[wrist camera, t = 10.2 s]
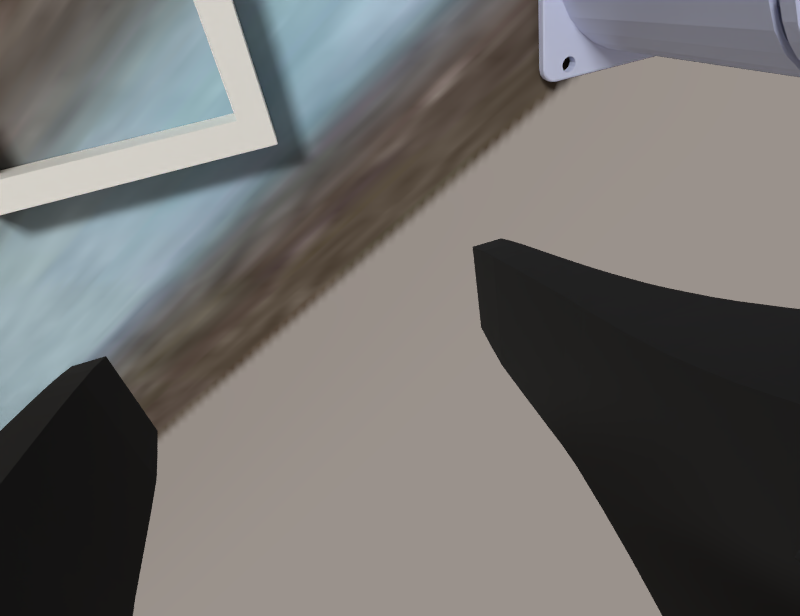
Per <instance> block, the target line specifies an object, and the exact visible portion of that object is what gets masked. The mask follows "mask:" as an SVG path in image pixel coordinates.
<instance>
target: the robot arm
mask: <svg viewBox="0 0 800 616" xmlns="http://www.w3.org/2000/svg"><path fill="white" fill-rule="evenodd" d="M538 3H539V70H540V75H541V76H542V78H543V79H545V80H547V81H550V82H557V81H561V80H565V79H568V78H572V77H576V76H580V75H584V74H588V73H592V72H596V71H599V70H603V69H607V68H611V67H615V66H619V65H623V64H626V63H630V62H634V61H638V60H642V59H646V58H650V57H654V56H661V57H667V58H674V59H681V60H688V61H694V62H701V63H708V64H715V65H721V66H729V67H735V68H741V69H748V70H755V71H762V72H768V73H775V74H782V75H789V76H796V77H800V0H538ZM567 57H569V60H570V63H569V66H568V67H567V69H565V70H563V67H562V65H563V61H564V60H565V58H567ZM473 254H474V263H475V272H476V282H477V292H478V301H479V310H480V320H481V328H482V330H483V331H484V333H485V335H486V337H487V339H488V341H489V343H490V345H491V346H492V348H493V350H494V352H495V353H496V355H497V357H498V359H499V360H500V362H501V364H502V365H503V367H504V368H505V369H506V371H507V372H508V374H509V375H510V376H511V378H512V379H513V380H514V382H515V383H516V384H517V386H518V387H519V389H520V390H521V391H522V393H523V394H524V395H525V397H526V398H527V399H528V400H529V402H530V403H531V404H532V406H533V407H534V408H535V410H536V411H537V412H538V414H539V415H540V416H541V418H542V419H543V420H544V422H545V423H546V424H547V426H548V427H549V428H550V429H551V431H552V432H553V434H554V435H555V436H556V437H557V439H558V440H559V441H560V443H561V444H562V445H563V447H564V448H565V450H566V451H567V453H568V454H569V456H570V457H571V458H572V460H573V461H574V463H575V464H576V466H577V467H578V469H579V471H580V472H581V474H582V475H583V477H584V479H585V481H586V482H587V484H588V486H589V487H590V489H591V491H592V492H593V494H594V496H595V497H596V499H597V500H598V502H599V504H600V505H601V507H602V509H603V510H604V512H605V514H606V516H607V517H608V519H609V521H610V522H611V524H612V526H613V528H614V529H615V531H616V533H617V535H618V536H619V538H620V540H621V541H622V543H623V545H624V547H625V549H626V550H627V552H628V554H629V555H630V557H631V559H632V561H633V563H634V564H635V566H636V568H637V570H638V572H639V574H640V575H641V577H642V579H643V581H644V583H645V585H646V586H647V588H648V590H649V592H650V594H651V595H652V597H653V599H654V601H655V603H656V605H657V606H658V608H659V610H660V612H661V614H662V616H800V309H794V308H785V307H777V306H770V305H763V304H755V303H747V302H740V301H733V300H727V299H721V298H715V297H709V296H704V295H699V294H694V293H689V292H684V291H679V290H674V289H669V288H665V287H660V286H656V285H652V284H648V283H644V282H640V281H637V280H633V279H629V278H626V277H622V276H618V275H615V274H611V273H608V272H604V271H601V270H598V269H594V268H591V267H588V266H585V265H582V264H579V263H576V262H573V261H570V260H567V259H564V258H561V257H558V256H555V255H552V254H549V253H546V252H543V251H540V250H537V249H535V248H531V247H528V246H526V245H523V244H519V243H516V242H513V241H509V240H505V239H498V240H494V241H491V242H488V243H484V244H481V245H477V246H474V247H473ZM156 476H157V430H156V428H155V427H154V425H153V424H152V422H151V421H150V419H149V418H148V416H147V415H146V414H145V412H144V411H143V409H142V408H141V406H140V405H139V403H138V402H137V401H136V399H135V398H134V396H133V395H132V393H131V392H130V390H129V389H128V388H127V386H126V385H125V383H124V382H123V380H122V379H121V377H120V376H119V375H118V373H117V372H116V370H115V369H114V367H113V366H112V364H111V363H110V362H109V360H108V359H107V357H106V356H105V357H102V358H99V359H95V360H92V361H88V362H85V363H82V364H78V365H75V366H72V367H70V368H69V369H68V370H67V371H65V372H64V373H63V374H61V375H60V376H59V377H58V378H57V379H55V380H54V381H53V382H52V383H51V384H50V385H49V386H47V387H46V388H45V389H44V390H43V391H42V392H41V393H40V394H39V395H38V396H37V397H35V398H34V399H33V400H32V401H31V402H30V403H29V404H28V405H27V406H26V407H25V408H24V409H23V410H22V411H21V412H20V413H19V414H18V415H17V416H16V417H14V418H13V419H12V420H11V421H10V422H9V423H8V424H7V425H6V426H5V427H4V428H3V429H2V430H1V431H0V616H133V609H134V602H135V595H136V590H137V585H138V580H139V574H140V569H141V563H142V558H143V552H144V547H145V542H146V536H147V531H148V525H149V520H150V514H151V509H152V503H153V497H154V491H155V485H156Z"/></svg>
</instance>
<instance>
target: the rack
mask: <svg viewBox="0 0 800 616" xmlns="http://www.w3.org/2000/svg"><path fill="white" fill-rule="evenodd" d="M194 3H195V6H196V9H197V11H198V14H199V17H200V20H201V23H202V25H203V28H204V31H205V34H206V36H207V39H208V42H209V45H210V48H211V50H212V53H213V56H214V59H215V62H216V64H217V67H218V70H219V73H220V75H221V78H222V81H223V84H224V87H225V89H226V92H227V95H228V98H229V101H230V103H231V106H232V109H233V112H234V113H232V114H228V115H224V116H220V117H216V118H212V119H208V120H204V121H200V122H196V123H192V124H188V125H183V126H179V127H175V128H171V129H167V130H163V131H159V132H155V133H151V134H147V135H143V136H139V137H135V138H131V139H126V140H122V141H118V142H114V143H110V144H106V145H102V146H98V147H94V148H90V149H86V150H82V151H78V152H74V153H69V154H65V155H61V156H57V157H53V158H49V159H45V160H41V161H37V162H33V163H29V164H25V165H21V166H17V167H13V168H8V169H4V170H0V215H3V214H7V213H11V212H15V211H19V210H22V209H26V208H30V207H34V206H38V205H42V204H46V203H50V202H54V201H58V200H62V199H66V198H69V197H73V196H77V195H81V194H85V193H89V192H93V191H97V190H101V189H105V188H109V187H113V186H116V185H120V184H124V183H128V182H132V181H136V180H140V179H144V178H148V177H152V176H156V175H160V174H163V173H167V172H171V171H175V170H179V169H183V168H187V167H191V166H195V165H199V164H203V163H207V162H210V161H214V160H218V159H222V158H226V157H230V156H234V155H238V154H242V153H246V152H250V151H254V150H257V149H261V148H265V147H269V146H273V145H277V144H278V143H277V138H276V133H275V130H274V127H273V124H272V121H271V118H270V114H269V111H268V108H267V105H266V102H265V99H264V96H263V92H262V89H261V86H260V83H259V80H258V77H257V74H256V71H255V67H254V64H253V61H252V58H251V55H250V52H249V49H248V46H247V42H246V39H245V36H244V33H243V30H242V27H241V24H240V20H239V17H238V14H237V11H236V8H235V5H234V2H233V0H194Z"/></svg>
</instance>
